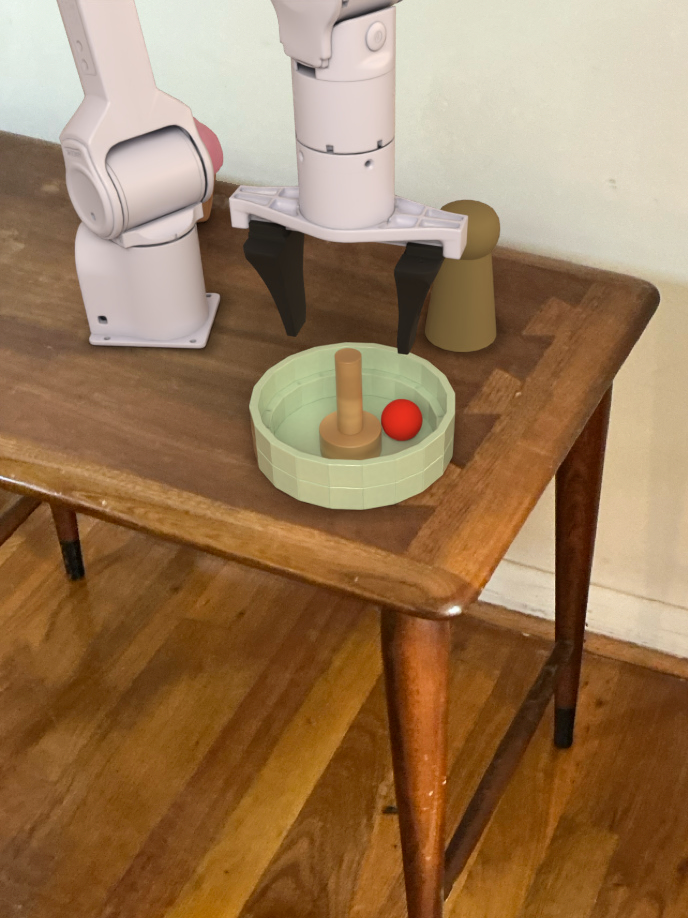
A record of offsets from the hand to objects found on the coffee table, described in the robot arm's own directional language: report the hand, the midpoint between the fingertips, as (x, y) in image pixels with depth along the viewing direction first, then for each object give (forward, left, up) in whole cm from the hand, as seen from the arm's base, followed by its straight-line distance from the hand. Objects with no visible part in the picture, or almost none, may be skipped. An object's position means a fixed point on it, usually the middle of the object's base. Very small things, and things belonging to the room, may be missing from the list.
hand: (350, 337), depth 68 cm
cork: (+8, +16, -10) cm, 20 cm away
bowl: (0, 0, -9) cm, 9 cm away
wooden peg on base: (0, -1, -9) cm, 9 cm away
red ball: (+3, +1, -7) cm, 8 cm away
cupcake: (-19, +34, -10) cm, 40 cm away
